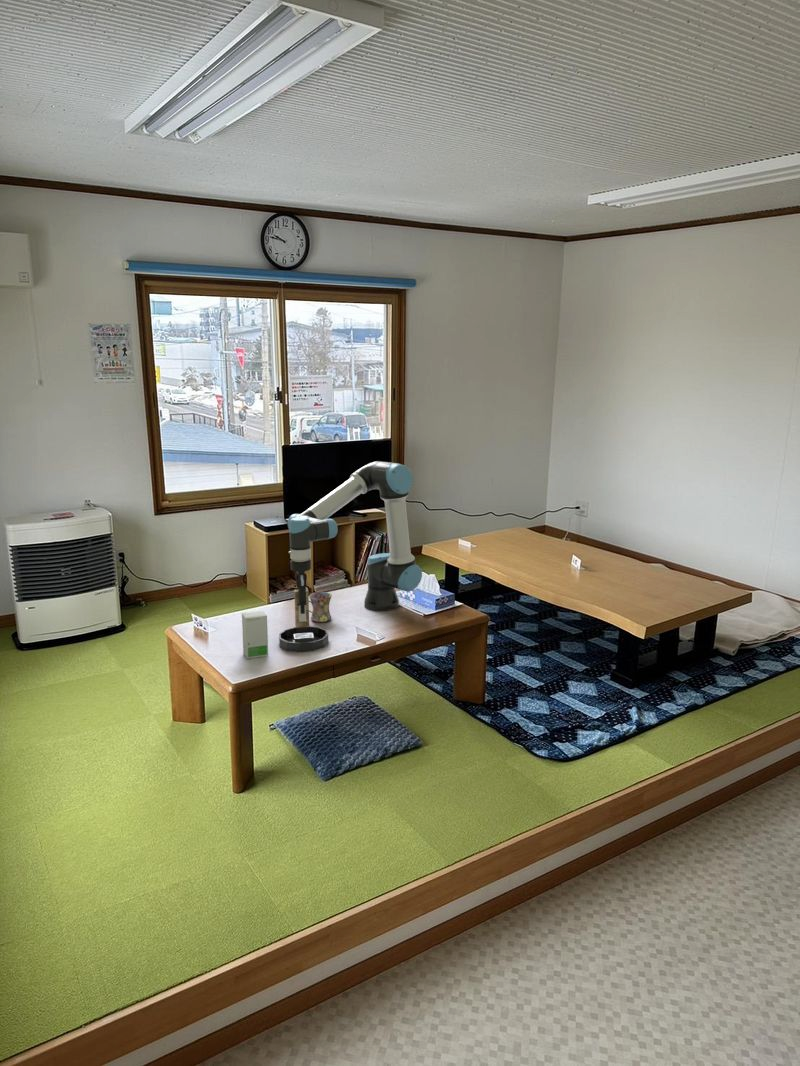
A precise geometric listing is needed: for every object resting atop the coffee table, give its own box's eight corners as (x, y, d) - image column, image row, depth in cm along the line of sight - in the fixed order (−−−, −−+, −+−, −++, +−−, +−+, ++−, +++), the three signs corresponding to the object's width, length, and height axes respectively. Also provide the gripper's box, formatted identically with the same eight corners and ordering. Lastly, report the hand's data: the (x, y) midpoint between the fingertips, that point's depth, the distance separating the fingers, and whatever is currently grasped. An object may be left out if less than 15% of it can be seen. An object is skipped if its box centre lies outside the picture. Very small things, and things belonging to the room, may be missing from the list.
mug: (325, 614, 317) (324, 590, 314) (336, 620, 309) (335, 596, 307) (300, 620, 310) (299, 595, 308) (310, 626, 303) (310, 601, 300)
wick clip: (313, 638, 288) (312, 632, 287) (314, 643, 283) (314, 637, 282) (293, 640, 286) (293, 634, 286) (294, 645, 281) (293, 638, 281)
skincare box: (246, 659, 269) (244, 618, 266) (242, 653, 275) (240, 612, 272) (269, 655, 273) (267, 615, 269) (265, 649, 279) (263, 609, 275)
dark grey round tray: (325, 633, 295) (324, 624, 294) (330, 649, 278) (330, 640, 277) (278, 636, 292) (278, 628, 291) (280, 654, 274) (280, 645, 273)
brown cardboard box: (308, 624, 285) (307, 588, 282) (309, 626, 282) (308, 591, 279) (295, 625, 284) (294, 589, 281) (295, 627, 281) (294, 591, 278)
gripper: (288, 554, 284) (290, 613, 289) (291, 565, 269) (293, 627, 274) (308, 553, 286) (310, 612, 291) (312, 564, 270) (314, 625, 275)
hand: (302, 619), depth 282 cm, fingers closed on brown cardboard box, 3 cm apart
